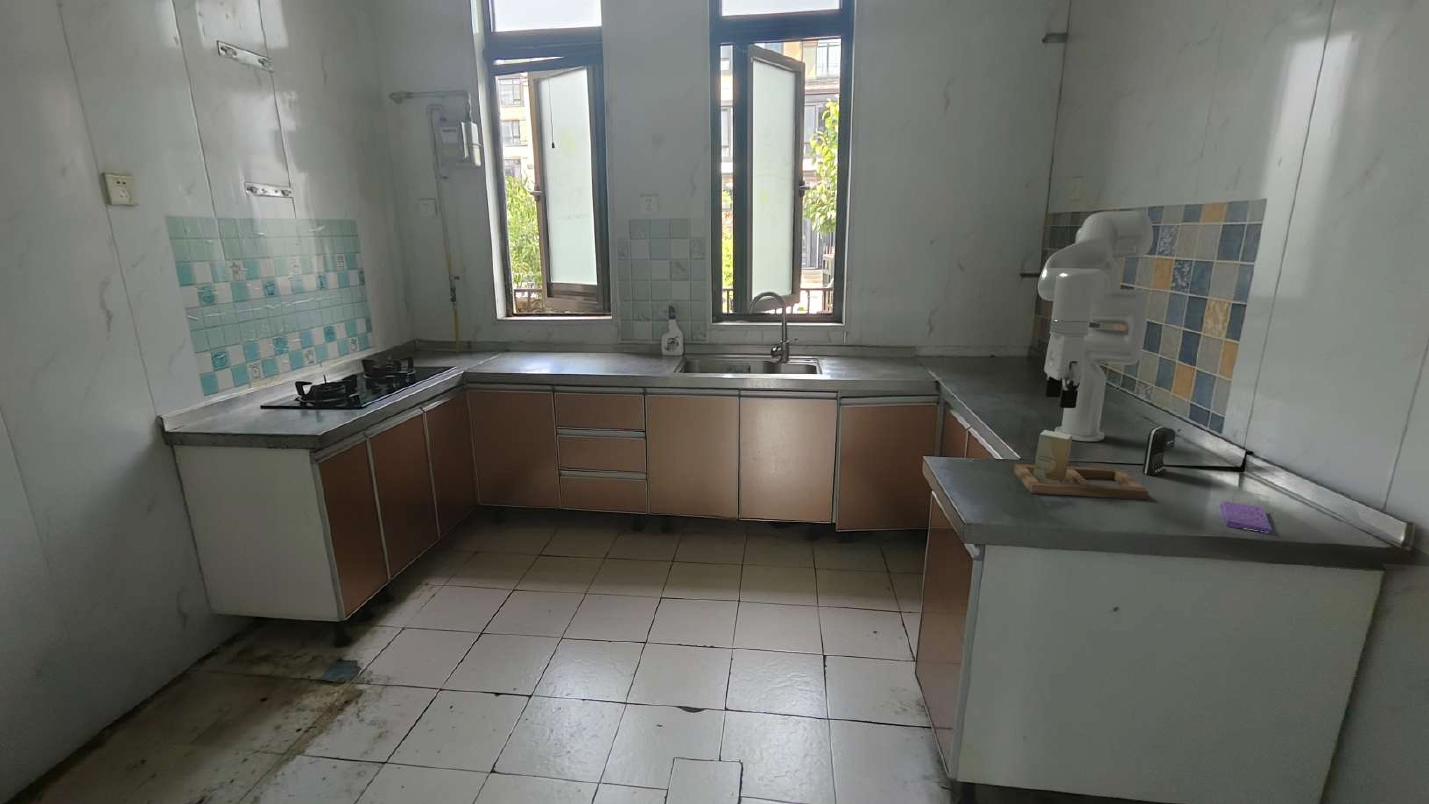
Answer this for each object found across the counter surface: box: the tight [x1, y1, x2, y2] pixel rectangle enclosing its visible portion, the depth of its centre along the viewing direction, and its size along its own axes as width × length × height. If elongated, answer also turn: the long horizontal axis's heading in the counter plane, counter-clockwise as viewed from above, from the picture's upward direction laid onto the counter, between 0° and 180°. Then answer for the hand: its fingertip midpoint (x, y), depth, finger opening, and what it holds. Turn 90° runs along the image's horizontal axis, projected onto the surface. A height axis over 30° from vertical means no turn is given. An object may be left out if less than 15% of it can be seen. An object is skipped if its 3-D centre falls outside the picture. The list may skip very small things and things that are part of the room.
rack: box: [1013, 463, 1149, 500], centre depth 148 cm, size 14×24×2 cm, turn 80°
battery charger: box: [1142, 426, 1176, 476], centre depth 154 cm, size 7×4×11 cm, turn 124°
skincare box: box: [1033, 429, 1073, 483], centre depth 148 cm, size 6×4×12 cm
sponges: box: [1220, 500, 1272, 534], centre depth 129 cm, size 7×13×2 cm, turn 146°
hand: (1059, 402), depth 144 cm, fingers open, 9 cm apart
